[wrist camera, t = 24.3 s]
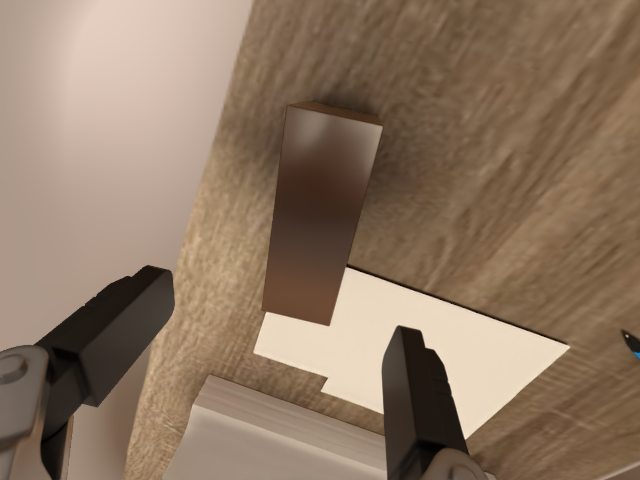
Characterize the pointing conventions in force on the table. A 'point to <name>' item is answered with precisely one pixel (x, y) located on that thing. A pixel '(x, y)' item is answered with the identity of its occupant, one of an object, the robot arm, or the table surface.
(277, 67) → the table surface
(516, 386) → the paper
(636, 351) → the pen
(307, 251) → the eraser
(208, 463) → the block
